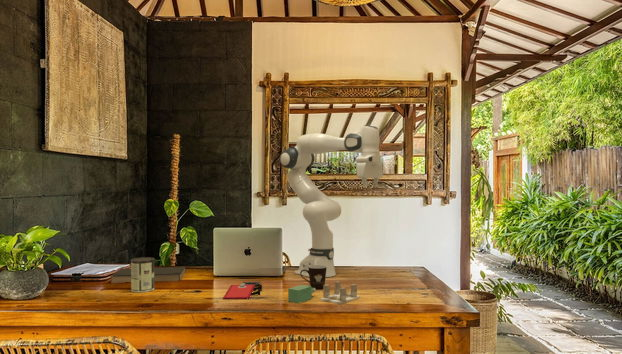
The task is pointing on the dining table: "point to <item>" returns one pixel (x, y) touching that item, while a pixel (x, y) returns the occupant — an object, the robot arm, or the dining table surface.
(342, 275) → the dining table surface
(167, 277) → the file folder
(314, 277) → the coffee mug
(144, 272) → the coffee can
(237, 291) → the red board with handle
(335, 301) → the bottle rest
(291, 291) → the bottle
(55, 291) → the dining table surface
